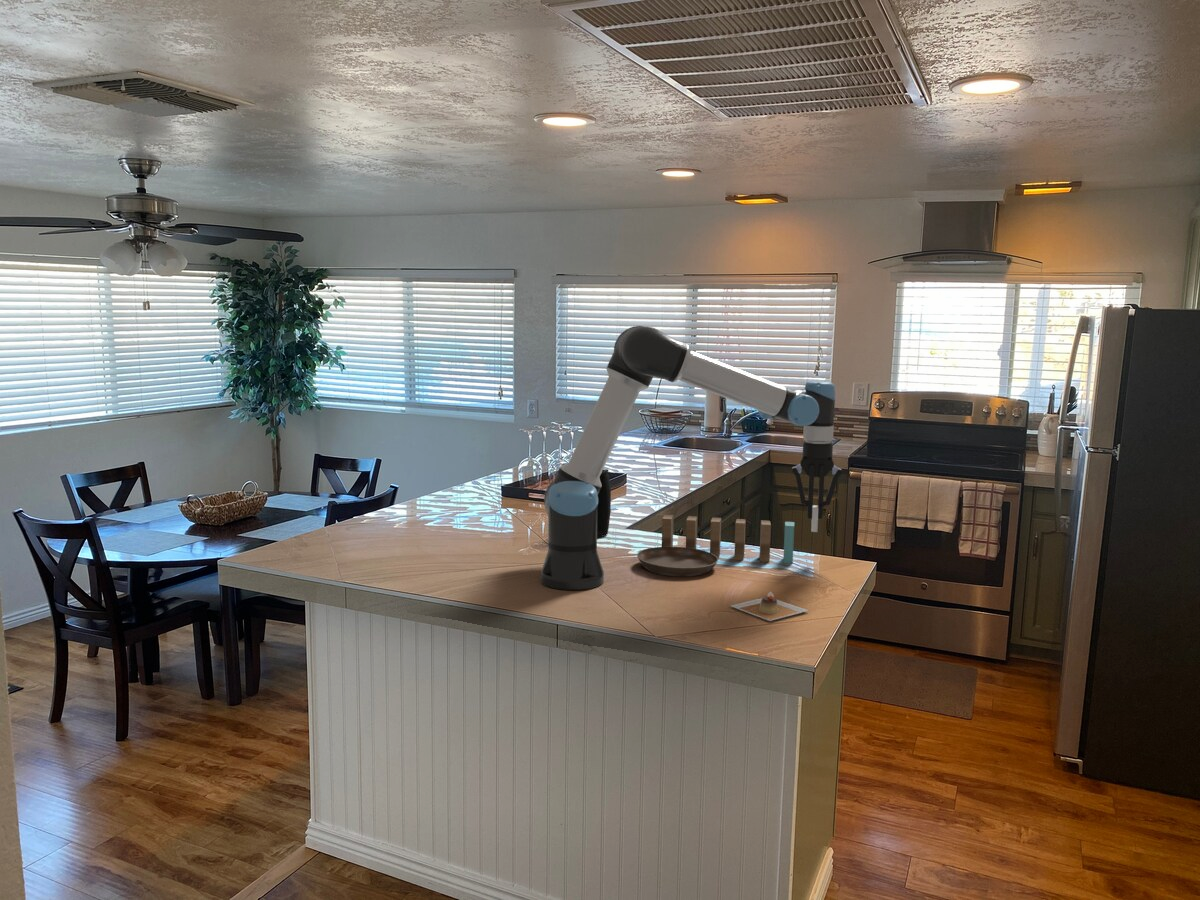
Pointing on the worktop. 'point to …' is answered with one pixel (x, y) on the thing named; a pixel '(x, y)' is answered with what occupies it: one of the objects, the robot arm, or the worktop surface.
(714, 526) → the domino
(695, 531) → the domino
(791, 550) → the domino
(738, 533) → the domino
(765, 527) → the domino
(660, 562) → the plant saucer
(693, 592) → the worktop surface
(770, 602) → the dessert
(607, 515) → the portable speaker
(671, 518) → the domino
